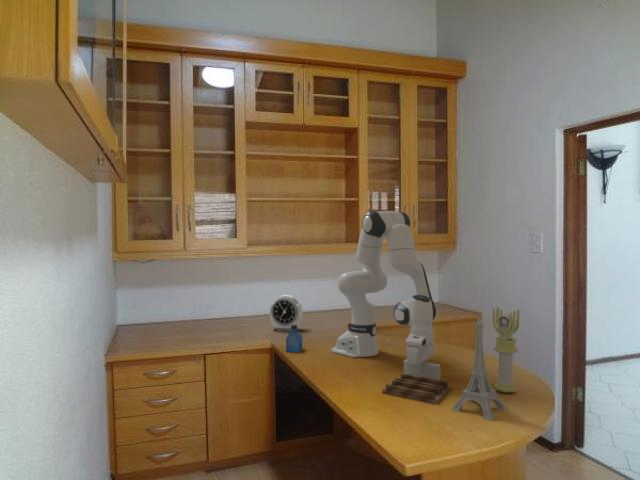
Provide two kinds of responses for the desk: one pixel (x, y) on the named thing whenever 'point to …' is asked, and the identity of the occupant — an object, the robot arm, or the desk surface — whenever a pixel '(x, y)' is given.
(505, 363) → the trophy
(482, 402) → the eiffel tower
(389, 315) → the desk surface
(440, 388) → the rack
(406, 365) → the gray rectangular block
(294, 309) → the alarm clock
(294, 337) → the perfume bottle
